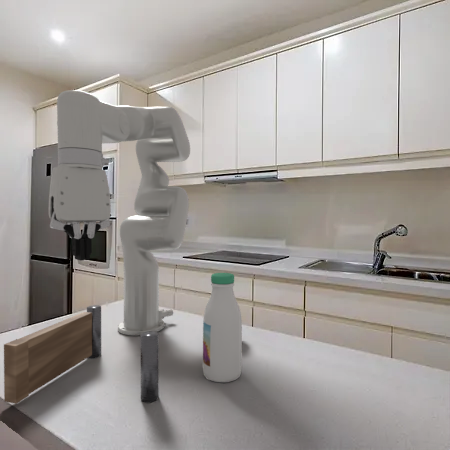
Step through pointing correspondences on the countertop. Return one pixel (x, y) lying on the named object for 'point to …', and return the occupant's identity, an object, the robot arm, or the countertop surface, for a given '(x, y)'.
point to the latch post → (149, 366)
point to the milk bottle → (222, 331)
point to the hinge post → (95, 330)
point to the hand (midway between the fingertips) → (82, 259)
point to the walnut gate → (45, 355)
